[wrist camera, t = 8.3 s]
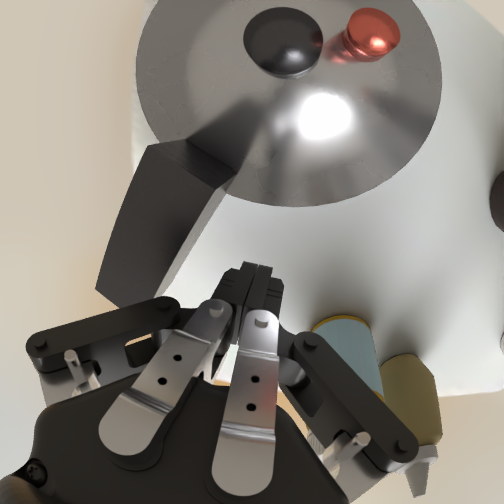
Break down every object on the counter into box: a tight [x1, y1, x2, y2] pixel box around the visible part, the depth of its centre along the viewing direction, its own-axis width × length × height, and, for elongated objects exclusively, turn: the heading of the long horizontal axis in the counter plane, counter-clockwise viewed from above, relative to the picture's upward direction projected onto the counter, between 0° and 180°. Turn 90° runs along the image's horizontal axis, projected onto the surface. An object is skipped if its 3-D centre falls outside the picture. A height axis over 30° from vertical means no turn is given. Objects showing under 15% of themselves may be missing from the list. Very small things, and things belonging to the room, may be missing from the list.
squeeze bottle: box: [379, 354, 443, 498], centre depth 21 cm, size 8×8×18 cm
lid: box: [95, 0, 442, 308], centre depth 10 cm, size 21×15×5 cm
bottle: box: [305, 315, 385, 463], centre depth 21 cm, size 7×7×15 cm
